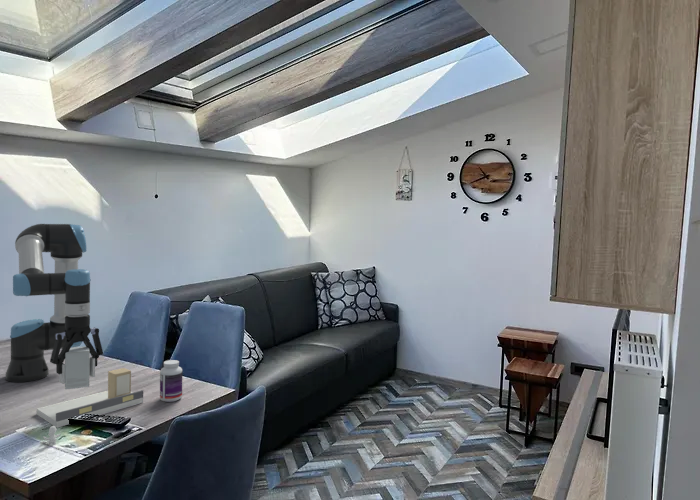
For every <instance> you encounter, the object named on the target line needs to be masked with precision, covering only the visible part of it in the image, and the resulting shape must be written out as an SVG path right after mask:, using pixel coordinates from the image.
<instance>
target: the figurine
mask: <svg viewBox="0 0 700 500" xmlns="http://www.w3.org/2000/svg"><path fill="white" fill-rule="evenodd" d="M56 432H57V427H55V426H54V425H52V426H50V427H49V431H48V434H47V435H48V436H49V437H46V436H44V435H43V436H42V437H43V440H45V441H42V442H41V445H45V444H48V446H50V447H53V446H55V445H57V438H59V437H60V435H61V434H62V432H60V433H57V435H56Z"/></svg>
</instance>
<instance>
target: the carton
mask: <svg viewBox="0 0 700 500" xmlns="http://www.w3.org/2000/svg"><path fill="white" fill-rule="evenodd" d="M107 391H108V398H109V399H111V398H114V397H118V396H122V395H126V394H129V393H131V392H132V371H131V370H130V369H128V368H125V367H122V368H116V369H113V370H109V371H107Z"/></svg>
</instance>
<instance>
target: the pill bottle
mask: <svg viewBox="0 0 700 500" xmlns="http://www.w3.org/2000/svg"><path fill="white" fill-rule="evenodd" d="M179 365H180V361H179V360H177V359H167V360H165V361H163V367H162V368H161V369H160V371H159V398H160V400H161V401H163V402H167V403H169V402H177V401H178V400H180V399H181V398H182V397H183V367H181V366H179Z"/></svg>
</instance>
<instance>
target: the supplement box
mask: <svg viewBox="0 0 700 500" xmlns="http://www.w3.org/2000/svg"><path fill="white" fill-rule="evenodd" d="M90 357H91V354H90V351H89V348H88V347H86V346H78V347H72V348H70V350H69V352H66V353H65V360H64V361H65V362H64V364H65V384H64V387H65V388H64V389H65V390H73V389H81V388H89V387H90V376H89V370H90Z"/></svg>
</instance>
